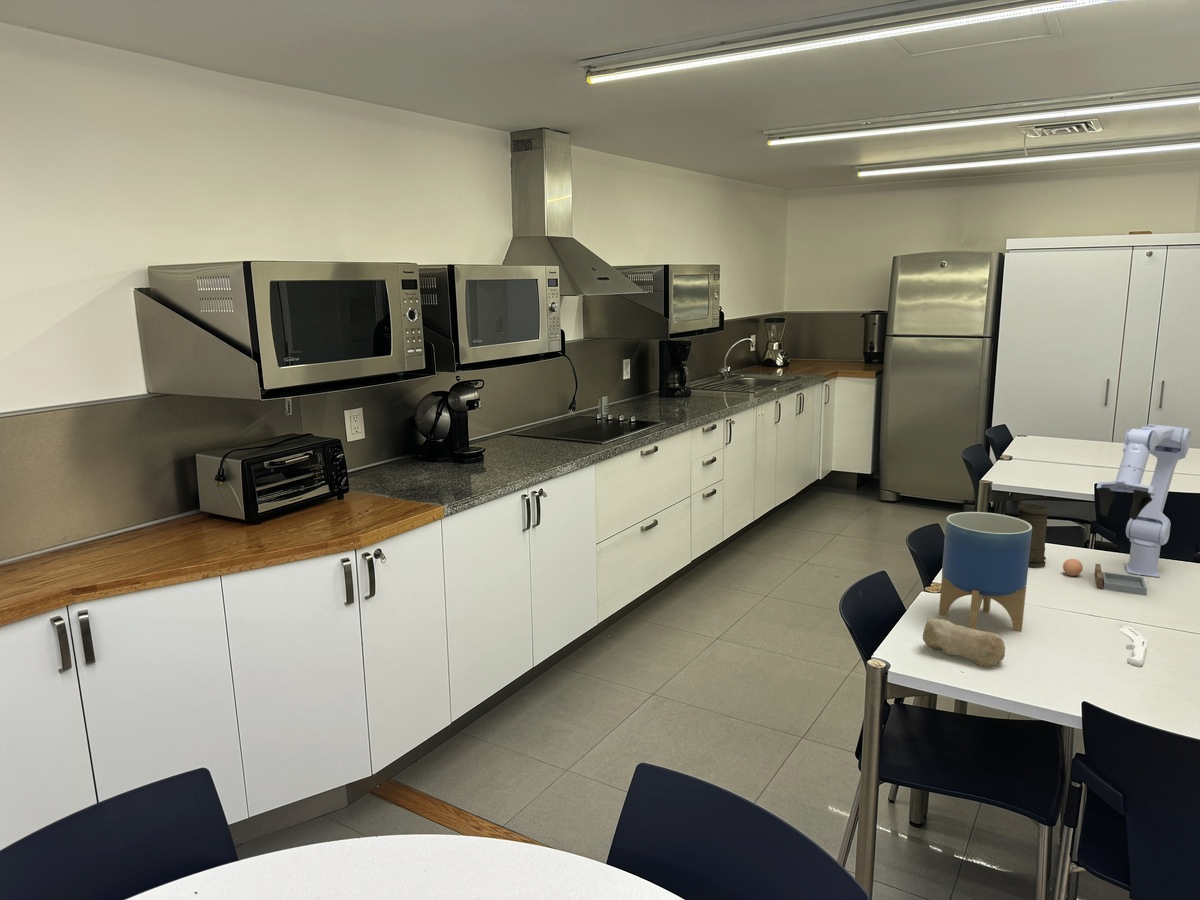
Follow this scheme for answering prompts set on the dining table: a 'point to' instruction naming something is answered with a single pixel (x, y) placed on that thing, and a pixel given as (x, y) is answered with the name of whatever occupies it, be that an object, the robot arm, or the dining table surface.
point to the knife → (1135, 646)
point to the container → (1035, 531)
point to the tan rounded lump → (964, 642)
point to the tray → (1124, 583)
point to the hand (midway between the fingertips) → (1117, 516)
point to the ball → (1072, 567)
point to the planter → (986, 563)
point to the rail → (1098, 576)
